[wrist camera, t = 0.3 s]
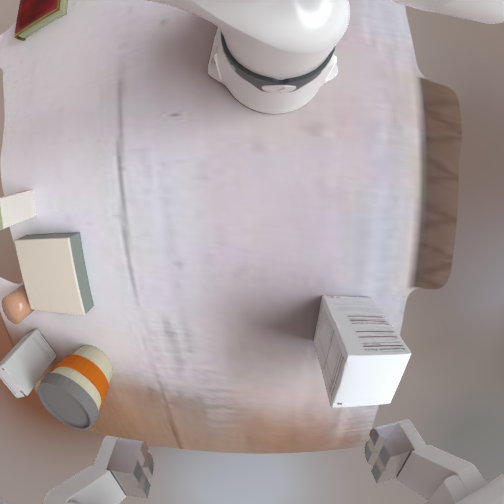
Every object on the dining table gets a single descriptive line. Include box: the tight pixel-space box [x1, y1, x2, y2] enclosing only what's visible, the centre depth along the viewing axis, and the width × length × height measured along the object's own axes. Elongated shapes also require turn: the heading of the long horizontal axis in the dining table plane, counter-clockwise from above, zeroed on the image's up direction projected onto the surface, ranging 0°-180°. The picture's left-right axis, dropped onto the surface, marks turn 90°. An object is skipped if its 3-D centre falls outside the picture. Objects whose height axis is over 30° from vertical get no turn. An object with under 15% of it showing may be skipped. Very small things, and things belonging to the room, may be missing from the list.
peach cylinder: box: [2, 286, 35, 324], centre depth 48 cm, size 6×6×6 cm
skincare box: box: [0, 329, 57, 398], centre depth 47 cm, size 8×6×15 cm
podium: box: [15, 232, 94, 316], centre depth 46 cm, size 14×14×4 cm
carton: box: [0, 190, 36, 230], centre depth 37 cm, size 5×5×15 cm
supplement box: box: [314, 295, 411, 407], centre depth 41 cm, size 10×9×17 cm
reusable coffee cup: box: [38, 345, 113, 430], centre depth 47 cm, size 13×12×15 cm
